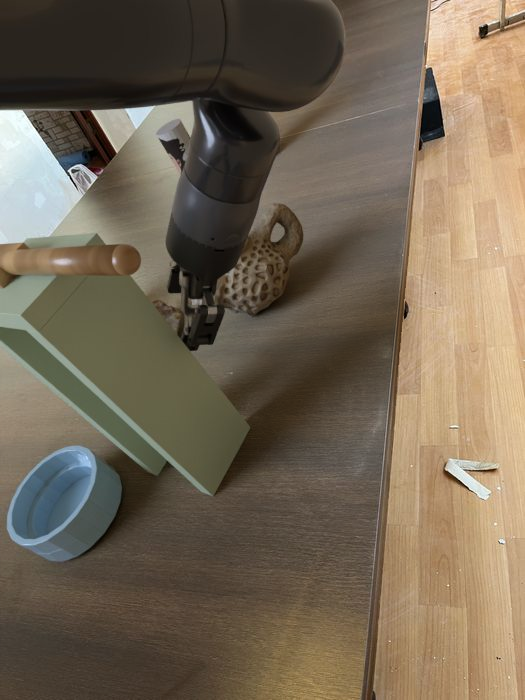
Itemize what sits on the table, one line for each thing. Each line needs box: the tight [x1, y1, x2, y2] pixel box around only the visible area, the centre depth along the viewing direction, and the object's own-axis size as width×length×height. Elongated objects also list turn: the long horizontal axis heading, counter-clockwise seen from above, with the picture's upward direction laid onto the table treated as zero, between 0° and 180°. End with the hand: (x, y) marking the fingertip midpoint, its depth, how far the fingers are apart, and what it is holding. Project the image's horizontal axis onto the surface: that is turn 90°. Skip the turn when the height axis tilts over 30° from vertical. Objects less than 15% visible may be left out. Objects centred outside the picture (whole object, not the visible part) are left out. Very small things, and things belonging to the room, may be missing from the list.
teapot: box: [190, 202, 305, 318], centre depth 76 cm, size 21×12×15 cm, turn 123°
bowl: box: [6, 444, 123, 562], centre depth 65 cm, size 14×14×6 cm
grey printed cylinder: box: [155, 118, 191, 176], centre depth 121 cm, size 7×7×15 cm
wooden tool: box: [0, 242, 142, 288], centre depth 41 cm, size 23×4×2 cm, turn 61°
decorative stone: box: [151, 299, 183, 335], centre depth 84 cm, size 10×4×15 cm
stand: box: [0, 232, 251, 497], centre depth 55 cm, size 10×12×32 cm
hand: (181, 318), depth 59 cm, fingers open, 8 cm apart
